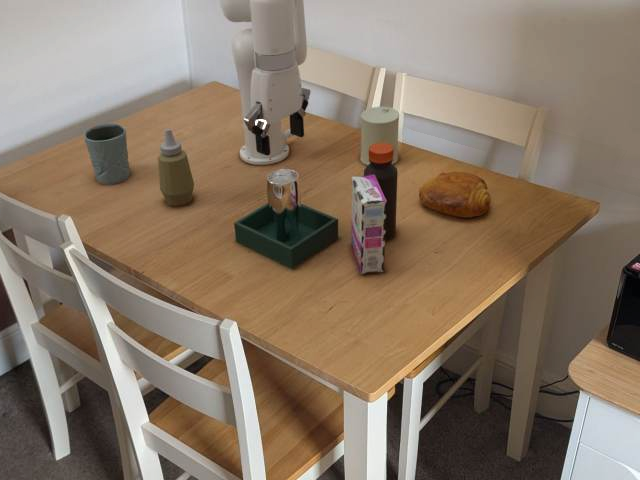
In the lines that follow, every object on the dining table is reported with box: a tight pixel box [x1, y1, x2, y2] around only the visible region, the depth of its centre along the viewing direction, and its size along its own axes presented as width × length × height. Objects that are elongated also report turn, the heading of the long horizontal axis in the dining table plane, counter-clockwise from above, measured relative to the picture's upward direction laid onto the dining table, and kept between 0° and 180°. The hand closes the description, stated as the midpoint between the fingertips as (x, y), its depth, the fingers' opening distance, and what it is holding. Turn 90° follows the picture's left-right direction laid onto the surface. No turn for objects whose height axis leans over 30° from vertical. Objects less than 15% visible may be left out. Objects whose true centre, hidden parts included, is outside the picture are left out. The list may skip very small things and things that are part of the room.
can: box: [359, 106, 400, 166], centre depth 193 cm, size 9×9×12 cm
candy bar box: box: [350, 175, 387, 275], centre depth 159 cm, size 11×5×16 cm, turn 5°
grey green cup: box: [83, 123, 131, 185], centre depth 198 cm, size 10×10×12 cm
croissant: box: [418, 170, 491, 219], centre depth 176 cm, size 14×16×8 cm
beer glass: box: [266, 168, 302, 246], centre depth 167 cm, size 7×7×15 cm
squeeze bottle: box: [157, 128, 195, 207], centre depth 183 cm, size 8×8×18 cm
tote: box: [233, 202, 340, 270], centre depth 170 cm, size 15×17×5 cm
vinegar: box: [363, 143, 399, 241], centre depth 165 cm, size 7×7×20 cm
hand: (280, 144), depth 157 cm, fingers open, 9 cm apart
